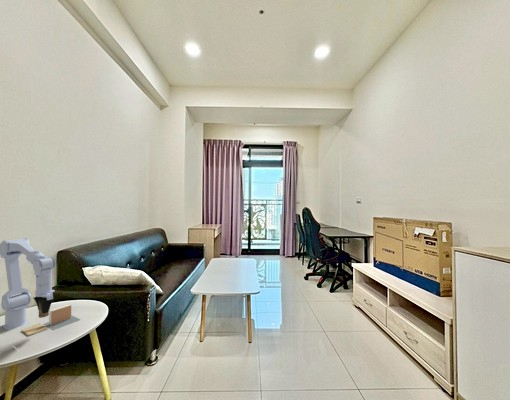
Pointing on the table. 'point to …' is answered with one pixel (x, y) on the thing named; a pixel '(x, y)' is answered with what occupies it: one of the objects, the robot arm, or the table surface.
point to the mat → (62, 323)
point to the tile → (59, 314)
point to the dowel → (42, 313)
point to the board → (34, 329)
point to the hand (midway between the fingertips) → (43, 311)
